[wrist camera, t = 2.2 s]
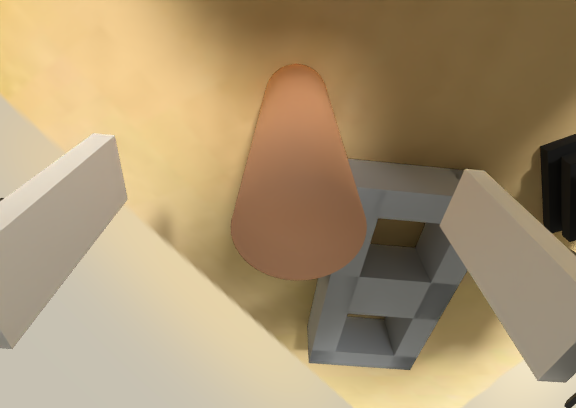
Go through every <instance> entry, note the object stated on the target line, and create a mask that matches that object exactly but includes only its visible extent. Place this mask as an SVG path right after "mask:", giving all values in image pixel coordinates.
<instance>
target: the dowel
mask: <svg viewBox="0 0 576 408" xmlns="http://www.w3.org/2000/svg"><path fill="white" fill-rule="evenodd" d="M366 231H367V223H366V217H365V214H364V210H363V207H362V204H361V201H360V197H359V194H358V191H357V187H356V184H355V181H354V178H353V174H352V171H351V168H350V165H349V161H348V158H347V155H346V152H345V148H344V145H343V142H342V139H341V135H340V132H339V129H338V126H337V122H336V119H335V116H334V113H333V109H332V106H331V103H330V100H329V96H328V93H327V90H326V87H325V84H324V81H323V79H322V78H321V76H320V75H319V74H318V73H317V72H316V71H315V70H313V69H312V68H310V67H308V66H305V65H301V64H291V65H287V66H284V67H282V68H281V69H279V70H278V71H276V72H275V73H274V74H273V75H272V77H271V78H270V80H269V81H268V84H267V87H266V91H265V94H264V98H263V102H262V106H261V110H260V113H259V117H258V121H257V125H256V129H255V132H254V136H253V140H252V144H251V148H250V152H249V155H248V159H247V163H246V167H245V171H244V174H243V178H242V182H241V186H240V190H239V193H238V197H237V201H236V205H235V209H234V213H233V216H232V220H231V235H232V239H233V242H234V245H235V247H236V249H237V250H238V252H239V254H240V255H241V256H242V257H243V259H244V260H246V261H247V262H248V263H249V264H250V265H251V266H253V267H254V268H255V269H257V270H259V271H261V272H263V273H265V274H267V275H270V276H273V277H276V278H280V279H286V280H311V279H317V278H321V277H324V276H327V275H330V274H332V273H334V272H336V271H338V270H340V269H341V268H343V267H344V266H346V265H347V264H348V263H349V262H350V261H352V260H353V259H354V258H355V256H356V255H357V254H358V252H359V251H360V249H361V247H362V246H363V243H364V240H365V237H366Z"/></svg>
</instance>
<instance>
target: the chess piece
mask: <svg viewBox="0 0 576 408" xmlns="http://www.w3.org/2000/svg"><path fill="white" fill-rule="evenodd" d="M540 150H541V174H542V198H543V222H544V227H545V228H547V229H548V230H549V231H550V232H551V233H555V232H558V231H562V235H563V236H564V237H565V238H566V239H567V240H568V241H569V242H571V241H575V240H576V134H574V135H571V136H568V137H566V138H563V139H560V140H557V141H554V142H551V143H549V144H546V145H543V146H540Z"/></svg>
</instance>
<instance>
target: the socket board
mask: <svg viewBox="0 0 576 408" xmlns="http://www.w3.org/2000/svg"><path fill="white" fill-rule="evenodd" d="M348 161H349V165H350V168H351V171H352V174H353V178H354V181H355V184H356V187H357V191H358V194H359V197H360V201H361V204H362V207H363V210H364V214H365V217H366V223H367V231H366V237H365V240H364V243H363V246H362V247H361V249H360V251H359V252H358V254H357V255H356V256H355V258H354V259H353V260H352V261H350V262H349V263H348V264H347V265H346V266H344V267H343V268H341V269H340V270H338V271H336V272H334V273H332V274H330V275H327V276H324V277H321V278H318V281H317V285H316V290H315V294H314V299H313V303H312V308H311V313H310V317H309V322H308V326H307V330H308V355H309V363H317V364H332V365H346V366H360V367H374V368H389V369H403V370H410V369H411V367H412V365H413V364H414V362H415V360H416V359H417V357H418V355H419V353H420V352H421V350H422V348H423V346H424V345H425V343H426V341H427V339H428V338H429V336H430V334H431V333H432V331H433V329H434V327H435V326H436V324H437V322H438V320H439V319H440V317H441V315H442V314H443V312H444V310H445V308H446V307H447V305H448V303H449V301H450V300H451V298H452V296H453V294H454V293H455V291H456V289H457V288H458V286H459V284H460V282H461V281H462V279H463V277H464V275H465V274H466V272H467V269H466V267H465V265H464V264H463V262H462V261H461V259H460V257H459V256H458V254H457V253H456V251H455V250H454V248H453V246H452V245H451V243H450V242H449V240H448V239H447V237H446V235H445V234H444V232H443V231H442V229H441V227H440V223H441V221H442V219H443V217H444V214H445V212H446V210H447V208H448V206H449V203H450V201H451V199H452V197H453V194H454V192H455V190H456V188H457V185H458V183H459V181H460V179H461V177H462V174H463V172H464V170H458V169H448V168H438V167H428V166H417V165H407V164H397V163H387V162H377V161H367V160H357V159H348ZM378 218H383V219H394V220H405V221H416V222H426V223H425V226H424V228H423V230H422V233H421V235H420V237H419V240H418V242H417V244H416V247H415V248H412V247H401V246H389V245H378V244H370V242H371V239H372V236H373V233H374V230H375V227H376V223H377V220H378ZM347 314H360V315H373V316H386V317H385V319H372V318H359V317H347Z"/></svg>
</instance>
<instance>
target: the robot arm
mask: <svg viewBox="0 0 576 408" xmlns="http://www.w3.org/2000/svg"><path fill="white" fill-rule="evenodd" d="M127 199H128V198H127V193H126V188H125V183H124V178H123V173H122V168H121V164H120V159H119V154H118V149H117V144H116V139H115V135H106V134H95V133H93V134H91V135H90V136H89V137H87V138H86V139H85V140H83V141H82V142H81V143H79V144H78V145H76V146H75V147H74V148H72V149H71V150H70V151H68V152H67V153H66V154H64V155H63V156H61V157H60V158H59V159H57V160H56V161H55V162H53V163H52V164H51V165H49V166H48V167H47V168H45V169H44V170H42V171H41V172H40V173H38V174H37V175H36V176H34V177H33V178H32V179H30V180H29V181H28V182H26V183H25V184H23V185H22V186H21V187H19V188H18V189H17V190H15V191H14V192H12V193H11V194H10V195H8V196H7V197H6V198H0V348H6V349H13V347H14V346H15V345H16V343H17V342H18V341H19V340H20V338H21V337H22V336H23V334H24V333H25V332H26V330H27V329H28V328H29V327H30V325H31V324H32V323H33V321H34V320H35V319H36V317H37V316H38V315H39V313H40V312H41V311H42V310H43V308H44V307H45V306H46V304H47V303H48V302H49V301H50V299H51V298H52V297H53V295H54V294H55V293H56V292H57V290H58V289H59V288H60V286H61V285H62V284H63V282H64V281H65V280H66V279H67V277H68V276H69V275H70V273H71V272H72V271H73V269H74V268H75V267H76V266H77V264H78V263H79V262H80V260H81V259H82V258H83V256H84V255H85V254H86V253H87V251H88V250H89V249H90V247H91V246H92V245H93V244H94V242H95V241H96V239H97V238H98V237H99V236H100V234H101V233H102V232H103V230H104V229H105V228H106V227H107V225H108V224H109V223H110V221H111V220H112V219H113V218H114V216H115V215H116V213H117V212H118V211H119V210H120V208H121V207H122V206H123V205H124V203H125V202H126V201H127ZM440 227H441V229H442V231H443V232H444V234H445V235H446V237H447V239H448V240H449V242H450V243H451V245H452V246H453V248H454V250H455V251H456V253H457V254H458V256H459V257H460V259H461V261H462V262H463V264H464V265H465V267H466V269H467V270H468V272H469V273H470V275H471V276H472V278H473V280H474V281H475V283H476V284H477V286H478V287H479V289H480V291H481V292H482V294H483V295H484V297H485V298H486V300H487V302H488V303H489V305H490V306H491V308H492V310H493V311H494V313H495V314H496V316H497V317H498V319H499V321H500V322H501V324H502V325H503V327H504V328H505V330H506V332H507V333H508V335H509V336H510V338H511V340H512V341H513V343H514V344H515V346H516V347H517V349H518V351H519V352H520V354H521V355H522V357H523V358H524V360H525V362H526V363H527V365H528V366H529V368H530V369H531V371H532V372H533V374H534V376H535V377H536V379H537V381H550V382H567V381H568V380H569V379H570V378H571V377H572V376H573V375H574V374H575V373H576V253H575V252H574V251H572V250H570V249H569V248H567V247H566V246H565V245H564V244H563V243H562V242H560V241H559V240H558V239H557V238H556V237H555V236H554V235H553V234H552V233H551V232H550V231H549V230H548V229H547V228H545V227H544V226H543V225H542V224H541V223H540V222H539V221H538V220H537V219H536V218H535V217H534V216H533V215H531V214H530V213H529V212H528V211H527V210H526V209H525V208H524V207H523V206H522V205H521V204H520V203H519V202H518V201H516V200H515V199H514V198H513V197H512V196H511V195H510V194H509V193H508V192H507V191H506V190H505V189H504V188H502V187H501V186H500V185H499V184H498V183H497V182H496V181H495V180H494V179H493V178H492V177H491V176H490V175H489V174H487V173H486V172H485V171H484V170H473V169H465V170H464V172H463V174H462V177H461V179H460V181H459V183H458V185H457V188H456V190H455V192H454V194H453V197H452V199H451V201H450V203H449V206H448V208H447V210H446V212H445V214H444V217H443V219H442V221H441V223H440ZM575 404H576V393H575V394H574V395H573V396H571V397H570V398H569V399H568V400H567V401H566V403H565V407H566V408H571V407H572V406H574V405H575Z"/></svg>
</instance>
